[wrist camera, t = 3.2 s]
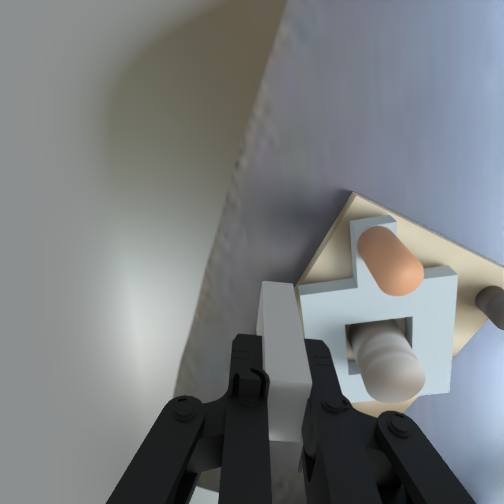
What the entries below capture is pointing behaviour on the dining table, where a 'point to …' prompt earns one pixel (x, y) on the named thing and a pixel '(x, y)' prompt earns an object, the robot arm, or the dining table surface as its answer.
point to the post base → (393, 330)
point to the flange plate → (385, 305)
